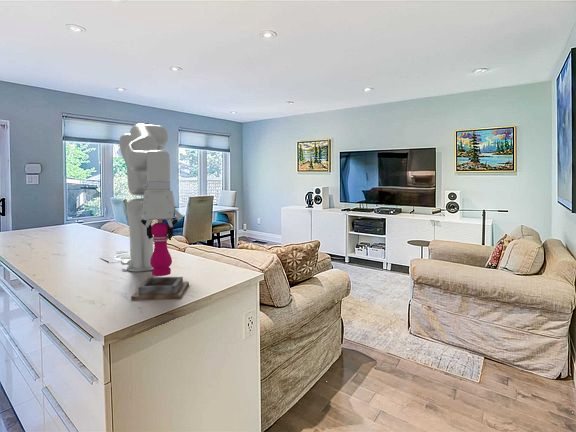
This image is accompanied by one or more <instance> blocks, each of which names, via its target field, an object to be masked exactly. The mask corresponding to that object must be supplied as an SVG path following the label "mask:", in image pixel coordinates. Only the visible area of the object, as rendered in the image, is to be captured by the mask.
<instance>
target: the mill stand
mask: <svg viewBox="0 0 576 432" xmlns="http://www.w3.org/2000/svg"><path fill="white" fill-rule="evenodd" d="M189 285H190V282H189V281H184V280H183V276H155V277H148V278H147V279H145V280H144V281H143V282H142V284H141V285H140V286H139V287H138V289H137V290H136V291H135V292H134V293H133V294H132V295H131V297H130V301H145V300H146V301H148V300H149V301H152V300H181V299H182V297H183V295H184V293H185V292H186V291H187V288H188V287H189Z"/></svg>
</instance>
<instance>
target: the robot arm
mask: <svg viewBox="0 0 576 432" xmlns="http://www.w3.org/2000/svg"><path fill="white" fill-rule="evenodd" d="M168 137H169V136H168V131H167V129H166V128H165V127H164V126H162V125H158V124H157V125H156V124H146V123H137V124H135V125H132V126H131V128H130V131H129V133H125V134H122V135H121V136H120V137H119V141H118V144H119V145H118V146H119V149H120V153H121V156H122V159H123V161H124V163H125V166H126V175H127V176H126V177H127V186H128V191H129V193H130V195H131V196H135V197H136V196H137V197H138V198H132V199H130V200H128V202H127V203H126V206H125V208H126V215H127V219H128V226H129V229H128V230H129V253H130V256H131V259H129V260H121V262H120V264H121V265H123V266H125V265H127V267H126V270H127V271H129V272H133V273H134V272H135V273H136V272H148V271H152V269H154V268H153V267H152V266H151V264H150V260H151V256H152V254H153V251H154V241H153V237H154V235H153V234H152V233H151V227H152V226H153V221H155V220H156V221H157V220H163V221H165V220H166V221H167V223H168V224H167V225H168V234H167V236H168V240H170V239H172V238H173V236H174V235H175V233H174V230H175V229H174V227H175V225H177V223H178V222H179V221H181V220H182V219H183V217H184V216H183V214H182V213H180V211H178V210H177V209H176V204H175V197H174V192H173V190H171V167H170V166H171V159H170V158H171V157H170V153H169V151H166V150H164V149H165V147H166V146H167V143H168ZM139 197H141V198H139ZM142 197H143V198H142ZM175 217H176V218H175ZM174 218H175V219H174Z"/></svg>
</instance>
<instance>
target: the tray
mask: <svg viewBox="0 0 576 432" xmlns="http://www.w3.org/2000/svg"><path fill="white" fill-rule="evenodd" d="M122 253H129V254H122ZM115 254H122V255H116V256H114V257H118V258H114V259H116V260H119V261H121V260H129V259H131V256H130V251H127V250H117V251H115V253H114V255H115ZM120 257H121V258H120Z"/></svg>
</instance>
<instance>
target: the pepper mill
mask: <svg viewBox="0 0 576 432" xmlns="http://www.w3.org/2000/svg"><path fill="white" fill-rule="evenodd" d="M156 221H157V222H155V223H154V224H152V225H151V226H152V227H151V233H152V234H153V251H154V252H153V254H152V256H151V260H150V264H151V266H152V267H153V268H154V269H152V270H151V275H152V276H155V277H167V276H169V275H171V272H172V271H171V270H172V269H171V265H172V263H173V260H172V256H171V253H170V251H169V249H168V245H167V243H168V240H169V238H168V227H169V224H167V223H165V222H164V220H156Z"/></svg>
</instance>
